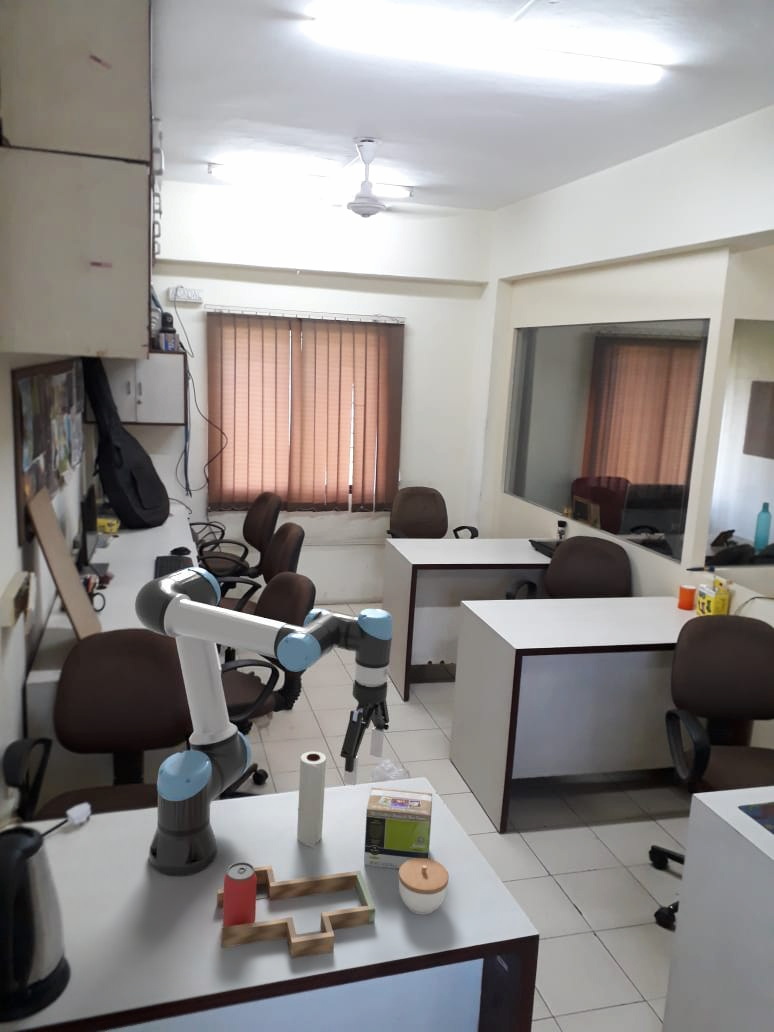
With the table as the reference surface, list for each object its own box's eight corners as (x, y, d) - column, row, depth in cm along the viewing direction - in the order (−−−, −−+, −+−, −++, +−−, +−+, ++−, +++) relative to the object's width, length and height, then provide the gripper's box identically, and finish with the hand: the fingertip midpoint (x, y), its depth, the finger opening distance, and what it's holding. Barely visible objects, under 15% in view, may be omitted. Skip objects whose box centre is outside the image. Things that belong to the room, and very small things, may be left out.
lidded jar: (439, 887, 172) (442, 849, 170) (451, 921, 161) (454, 881, 159) (392, 889, 170) (395, 852, 168) (401, 924, 159) (404, 884, 158)
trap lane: (224, 969, 145) (224, 953, 144) (215, 886, 167) (215, 872, 166) (381, 943, 154) (383, 928, 153) (353, 868, 176) (354, 854, 175)
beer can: (261, 916, 159) (263, 865, 157) (245, 937, 153) (247, 884, 150) (233, 907, 161) (234, 856, 159) (216, 928, 155) (217, 875, 153)
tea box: (429, 847, 186) (433, 792, 183) (427, 874, 176) (431, 816, 173) (367, 840, 187) (371, 785, 184) (362, 866, 177) (366, 808, 174)
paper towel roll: (302, 827, 190) (306, 748, 186) (325, 832, 189) (329, 753, 184) (291, 844, 183) (294, 762, 179) (314, 849, 182) (319, 767, 178)
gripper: (361, 706, 153) (353, 801, 158) (408, 665, 176) (400, 749, 180) (328, 696, 156) (321, 790, 161) (378, 657, 179) (371, 741, 183)
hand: (363, 769), depth 170 cm, fingers open, 13 cm apart
